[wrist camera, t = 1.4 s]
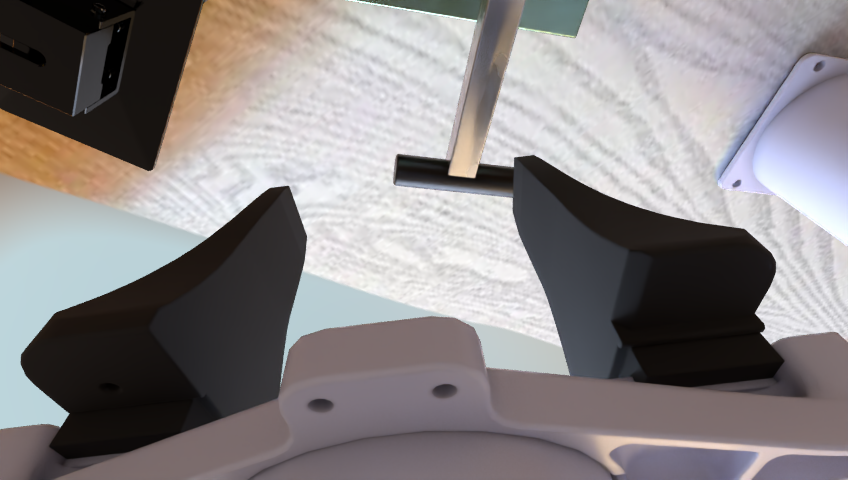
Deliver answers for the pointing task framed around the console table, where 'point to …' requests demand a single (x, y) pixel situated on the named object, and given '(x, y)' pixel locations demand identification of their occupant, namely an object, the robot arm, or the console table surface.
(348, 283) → the console table surface
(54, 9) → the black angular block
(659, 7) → the console table surface
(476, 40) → the lever
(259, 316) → the robot arm
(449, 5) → the bracket
